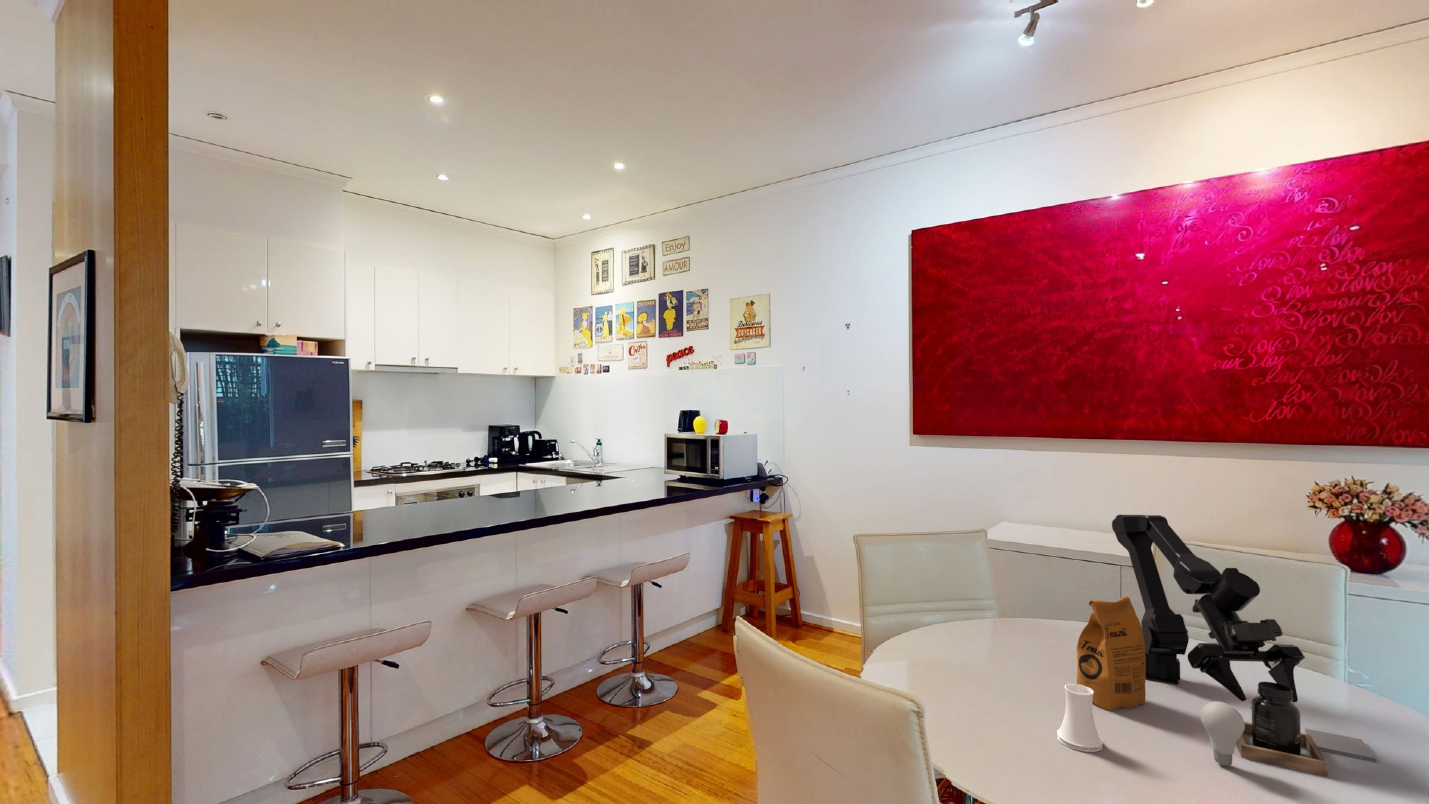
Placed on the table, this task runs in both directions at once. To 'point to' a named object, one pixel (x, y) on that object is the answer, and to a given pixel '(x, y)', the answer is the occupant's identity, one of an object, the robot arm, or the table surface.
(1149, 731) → the table surface
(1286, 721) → the supplement bottle
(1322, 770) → the wooden square frame
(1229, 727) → the lightbulb
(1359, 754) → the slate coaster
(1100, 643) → the coffee package
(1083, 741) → the vase
